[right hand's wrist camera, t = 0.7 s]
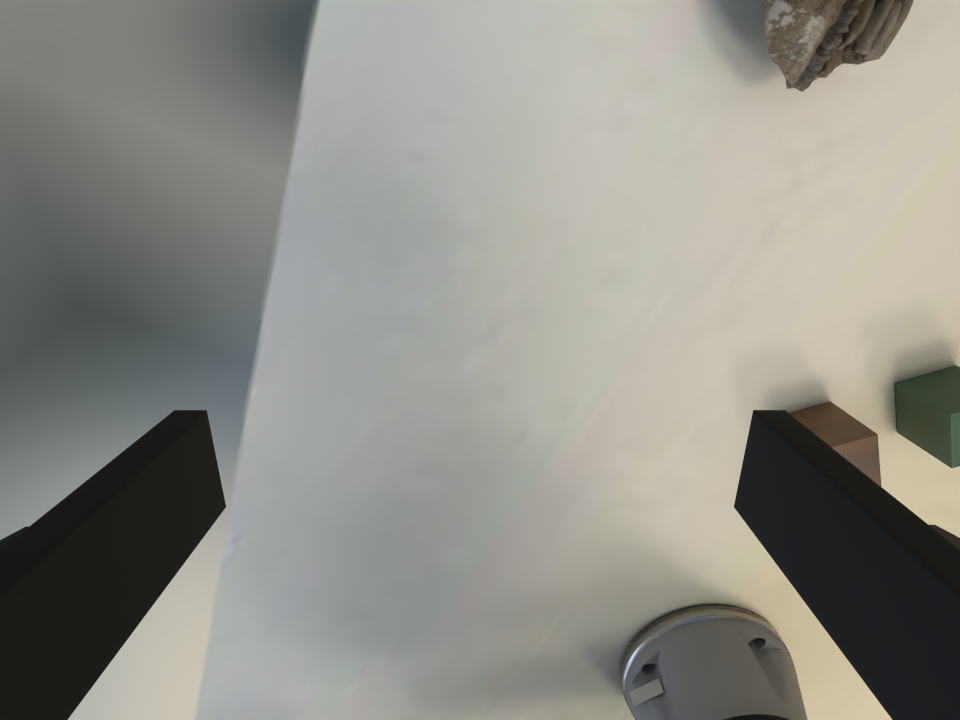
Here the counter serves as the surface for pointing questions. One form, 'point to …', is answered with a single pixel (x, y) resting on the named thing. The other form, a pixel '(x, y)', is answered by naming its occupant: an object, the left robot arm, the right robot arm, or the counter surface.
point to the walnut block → (844, 436)
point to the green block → (931, 413)
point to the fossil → (829, 34)
